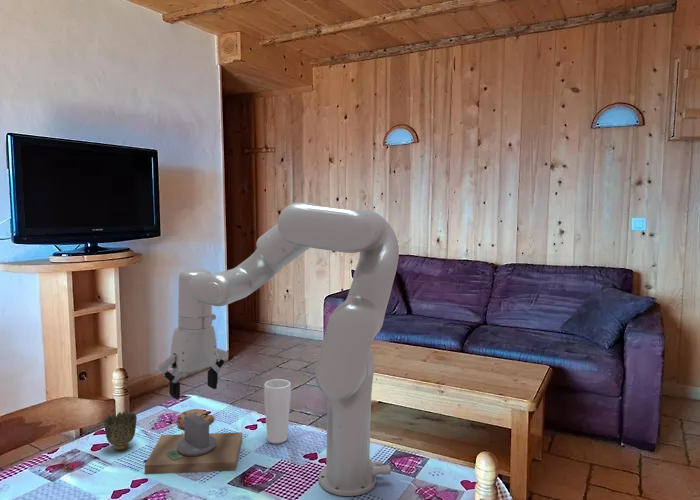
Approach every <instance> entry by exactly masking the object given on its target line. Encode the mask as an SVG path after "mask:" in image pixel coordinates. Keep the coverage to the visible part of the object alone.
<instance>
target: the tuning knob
mask: <svg viewBox="0 0 700 500" xmlns="http://www.w3.org/2000/svg"><path fill="white" fill-rule="evenodd" d="M183 430H184V431H182V432H181V434H182V435H183V436H184V438H183V439H181V440H180V441H179V442H178V443H177V452H178V453H179V454H181V455H184V456H200V455H204V454H207V453H209V452H211V451H212V450H214V449H215V447H216V439H215V438H214V437H212V436H209V433H210V425H209V422H208V421H207V420H205V419H203V418H201V417H200V416H198V415H196V414H194V413H192V414H189V415H186V416H184V429H183Z"/></svg>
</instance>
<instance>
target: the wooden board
mask: <svg viewBox="0 0 700 500" xmlns="http://www.w3.org/2000/svg"><path fill="white" fill-rule="evenodd" d="M209 436H212V437H214V438H215V439H216V447H215V449H214V450H212V451H211V452H209V453H207V454H204V455H200V456H184V455H181V454H179V453H178V452H177V443H178V442H179V441H180V440H181V439H183V438H184V436H183V435H182V433H179V434H161V435H160V437H159V439H158V441H156V444H155V446H154V447H153V449H152V452H151V453H150V454H149V457H148V458H147V460H146V462H145V464H144V475H149V474H150V475H151V474H154V475H155V474H175V473H176V474H178V473H179V474H180V473H200V472H201V473H202V472H203V473H204V472H225V471H226V472H228V471H236V470H237V465H238V460H239V456H240V451H241V447H242V441H243V432H217V433H216V432H213V433H210V432H209Z"/></svg>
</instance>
